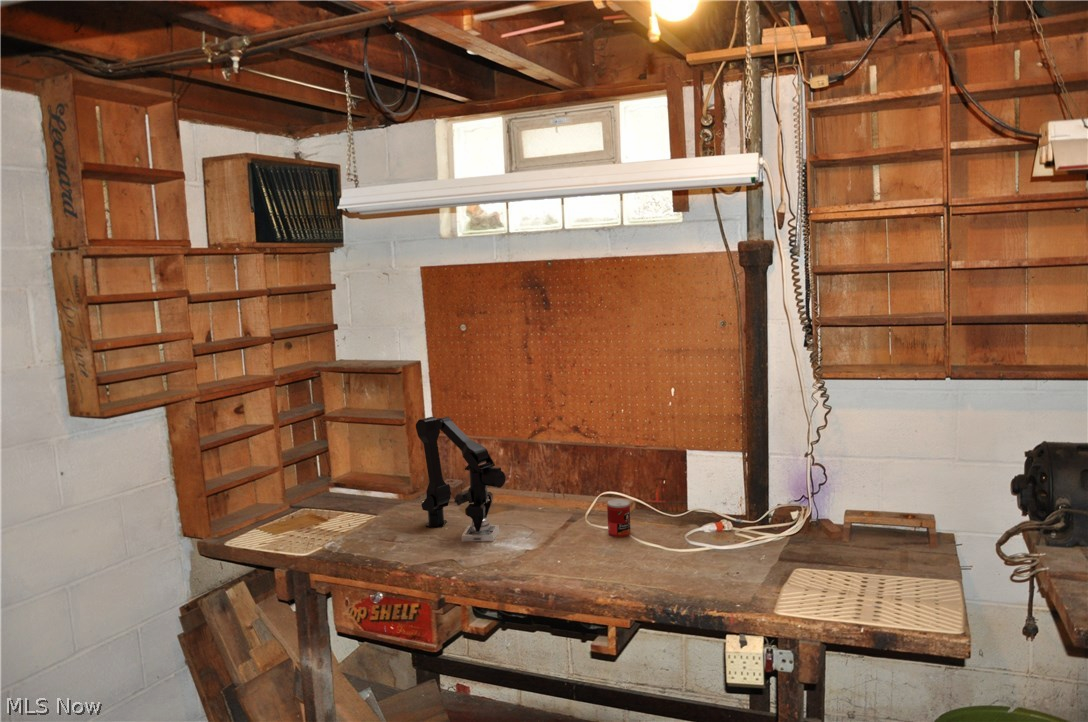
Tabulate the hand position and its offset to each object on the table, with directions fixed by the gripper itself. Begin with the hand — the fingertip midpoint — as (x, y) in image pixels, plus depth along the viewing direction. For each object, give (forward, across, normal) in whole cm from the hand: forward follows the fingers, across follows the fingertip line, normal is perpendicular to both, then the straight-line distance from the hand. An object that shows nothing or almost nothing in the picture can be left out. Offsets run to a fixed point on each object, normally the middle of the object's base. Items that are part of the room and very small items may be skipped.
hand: (480, 527), depth 278 cm
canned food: (+3, -2, +48) cm, 48 cm away
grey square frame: (+3, 0, 0) cm, 3 cm away
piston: (+3, 0, 0) cm, 3 cm away
